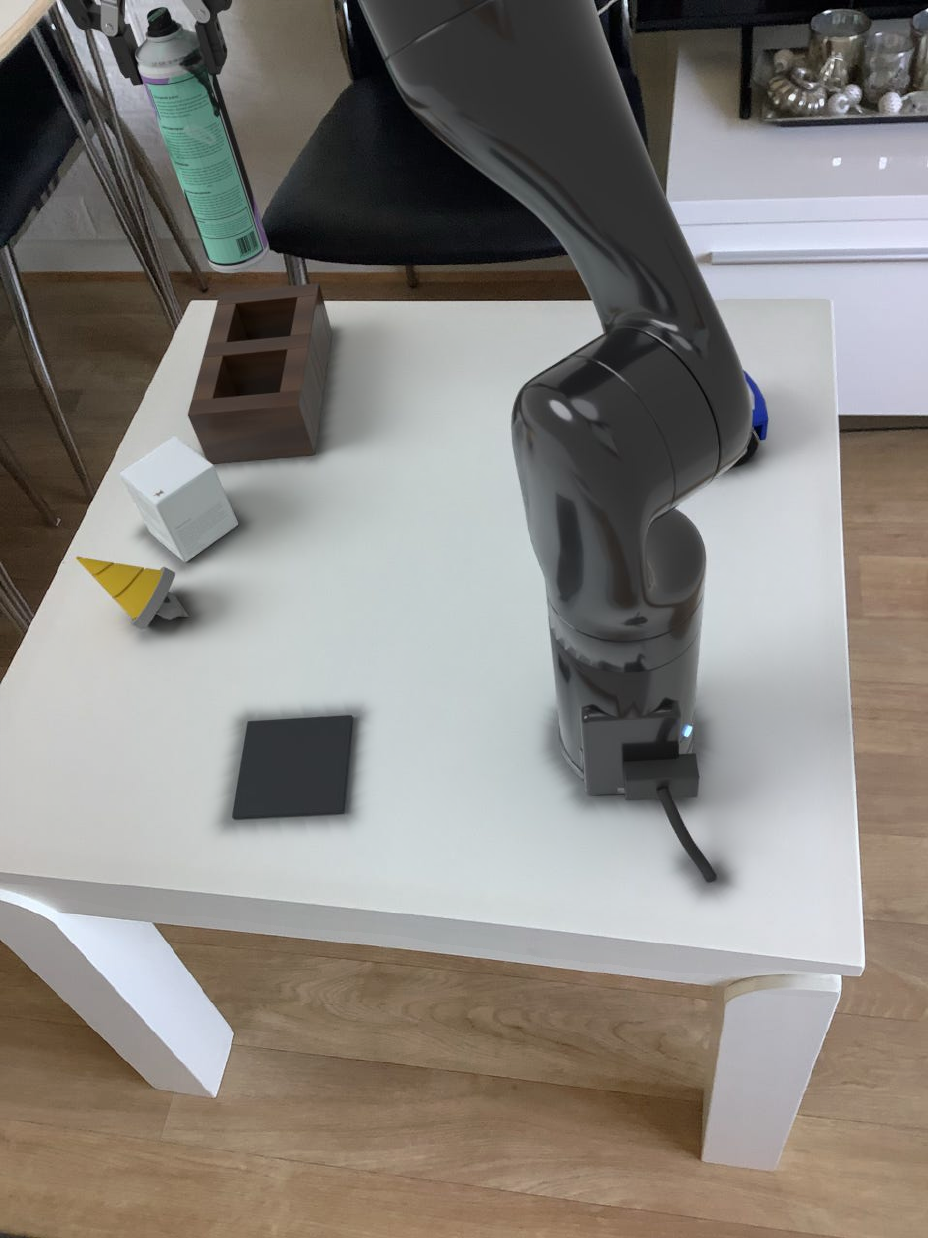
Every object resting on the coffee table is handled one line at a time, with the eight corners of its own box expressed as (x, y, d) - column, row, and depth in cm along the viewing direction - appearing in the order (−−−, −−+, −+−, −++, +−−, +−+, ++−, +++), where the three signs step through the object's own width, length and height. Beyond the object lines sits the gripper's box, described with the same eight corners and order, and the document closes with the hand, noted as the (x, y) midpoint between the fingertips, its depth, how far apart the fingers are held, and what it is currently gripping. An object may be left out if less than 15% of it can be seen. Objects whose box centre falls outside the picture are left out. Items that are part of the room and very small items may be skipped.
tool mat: (343, 813, 74) (342, 811, 73) (233, 819, 74) (231, 816, 74) (352, 717, 79) (351, 714, 78) (248, 723, 79) (247, 721, 79)
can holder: (314, 454, 97) (298, 404, 93) (208, 464, 98) (187, 414, 94) (332, 332, 109) (319, 282, 104) (237, 342, 110) (219, 292, 105)
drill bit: (170, 656, 85) (54, 597, 81) (175, 628, 90) (65, 571, 86) (204, 604, 84) (88, 542, 80) (207, 579, 89) (97, 519, 85)
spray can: (279, 238, 93) (205, -6, 78) (255, 274, 90) (173, 26, 75) (224, 237, 95) (141, -4, 79) (198, 272, 91) (107, 28, 76)
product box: (241, 525, 93) (215, 465, 87) (184, 565, 91) (154, 505, 85) (203, 494, 96) (175, 433, 90) (147, 531, 94) (116, 472, 88)
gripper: (-35, -159, 66) (78, 110, 79) (184, -196, 64) (263, 85, 77) (1, -193, 71) (101, 66, 84) (206, -229, 69) (276, 42, 82)
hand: (178, 74), depth 80 cm, fingers closed on spray can, 5 cm apart
